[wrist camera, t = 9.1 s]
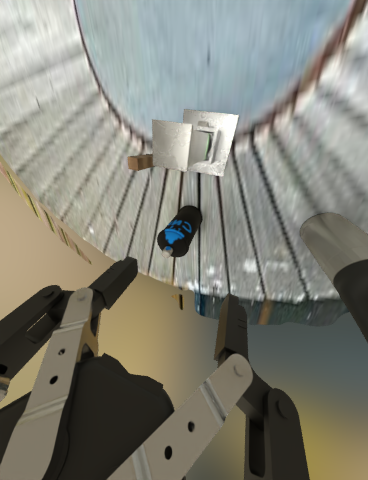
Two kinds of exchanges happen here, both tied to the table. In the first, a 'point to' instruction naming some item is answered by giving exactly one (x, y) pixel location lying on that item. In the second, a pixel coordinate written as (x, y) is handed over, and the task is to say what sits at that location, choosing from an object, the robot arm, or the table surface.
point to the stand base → (213, 138)
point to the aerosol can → (179, 232)
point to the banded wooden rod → (140, 162)
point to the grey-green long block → (178, 145)
